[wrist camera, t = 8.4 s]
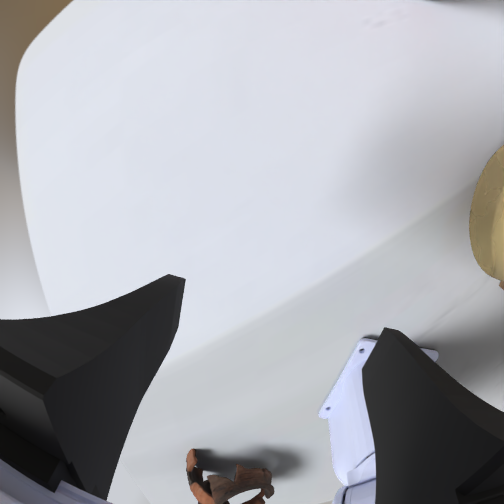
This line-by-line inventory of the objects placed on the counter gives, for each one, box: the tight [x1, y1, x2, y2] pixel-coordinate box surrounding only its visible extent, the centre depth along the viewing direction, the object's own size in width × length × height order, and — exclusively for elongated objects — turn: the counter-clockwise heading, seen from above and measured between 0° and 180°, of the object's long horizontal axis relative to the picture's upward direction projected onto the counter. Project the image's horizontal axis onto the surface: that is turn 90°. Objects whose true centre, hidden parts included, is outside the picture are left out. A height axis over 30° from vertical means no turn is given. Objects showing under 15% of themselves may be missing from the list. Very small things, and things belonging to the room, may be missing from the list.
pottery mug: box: [186, 449, 274, 504], centre depth 29 cm, size 12×10×8 cm
